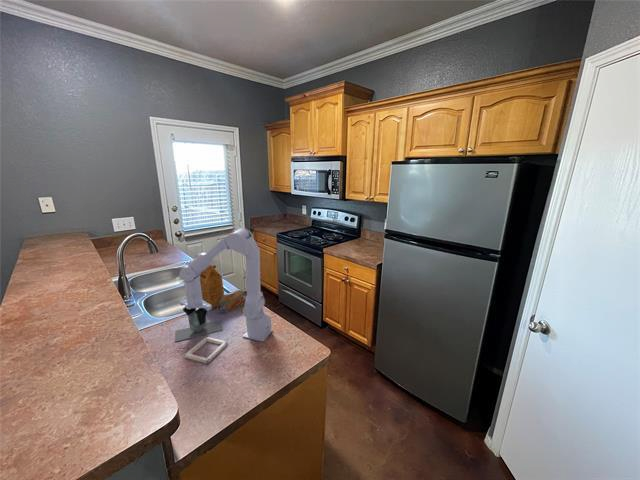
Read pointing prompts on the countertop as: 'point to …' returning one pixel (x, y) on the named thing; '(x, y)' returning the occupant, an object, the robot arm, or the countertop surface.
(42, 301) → the countertop surface
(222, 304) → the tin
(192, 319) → the block
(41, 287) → the countertop surface
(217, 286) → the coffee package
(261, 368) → the countertop surface
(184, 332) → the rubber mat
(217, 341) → the pocket frame
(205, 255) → the robot arm
